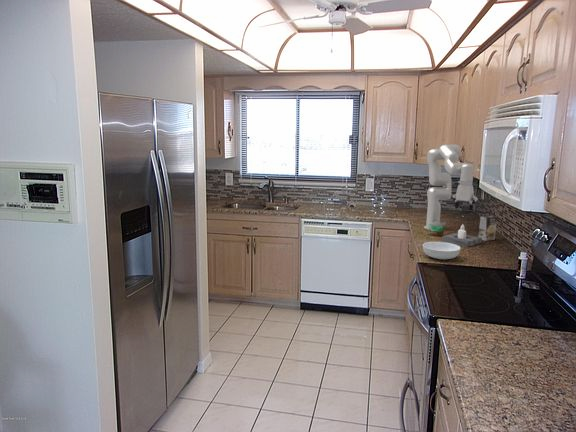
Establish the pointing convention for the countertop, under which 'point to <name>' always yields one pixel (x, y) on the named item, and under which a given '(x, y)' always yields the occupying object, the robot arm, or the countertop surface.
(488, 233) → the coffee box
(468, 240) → the holder block
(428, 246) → the serving bowl
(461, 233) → the eye dropper bottle
